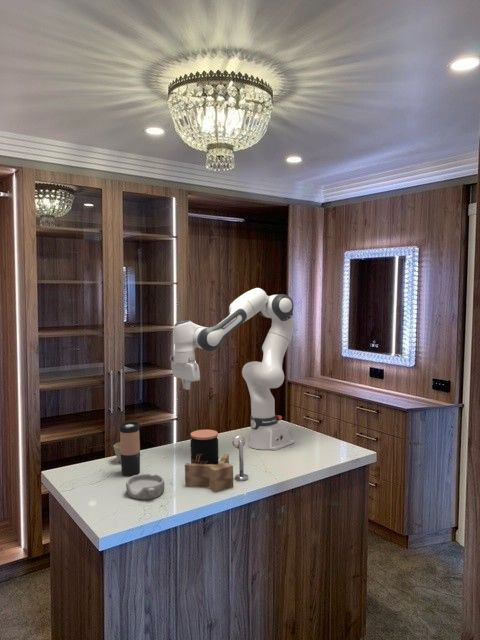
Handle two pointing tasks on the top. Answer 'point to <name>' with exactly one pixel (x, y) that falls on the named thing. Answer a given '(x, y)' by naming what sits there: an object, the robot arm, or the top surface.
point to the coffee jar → (204, 447)
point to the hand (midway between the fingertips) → (186, 389)
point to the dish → (145, 486)
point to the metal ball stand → (240, 457)
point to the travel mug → (130, 448)
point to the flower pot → (117, 451)
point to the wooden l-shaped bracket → (210, 475)
